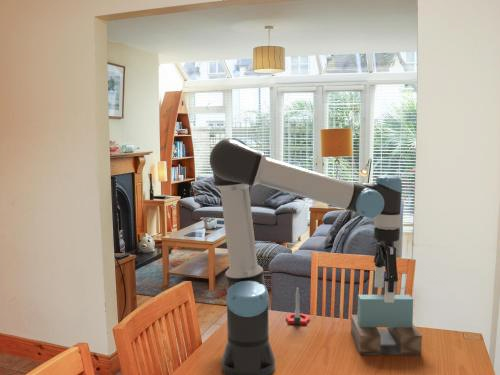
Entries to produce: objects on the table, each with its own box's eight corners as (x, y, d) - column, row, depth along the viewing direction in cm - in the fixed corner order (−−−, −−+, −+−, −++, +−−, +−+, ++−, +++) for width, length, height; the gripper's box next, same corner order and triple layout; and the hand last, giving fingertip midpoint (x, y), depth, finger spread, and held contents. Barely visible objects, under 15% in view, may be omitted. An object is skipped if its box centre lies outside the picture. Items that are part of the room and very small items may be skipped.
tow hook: (286, 315, 175) (284, 324, 166) (287, 280, 174) (285, 288, 165) (310, 316, 174) (309, 326, 164) (310, 281, 173) (309, 289, 163)
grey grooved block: (360, 354, 143) (360, 335, 142) (351, 332, 159) (351, 314, 158) (421, 355, 142) (421, 335, 142) (405, 332, 158) (406, 314, 157)
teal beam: (408, 322, 152) (409, 294, 150) (412, 327, 148) (413, 299, 146) (357, 322, 152) (358, 294, 151) (360, 327, 148) (360, 299, 147)
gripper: (411, 236, 134) (407, 309, 136) (389, 219, 158) (386, 281, 161) (384, 235, 134) (380, 308, 136) (366, 219, 159) (363, 281, 161)
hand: (383, 294), depth 149 cm, fingers open, 13 cm apart
